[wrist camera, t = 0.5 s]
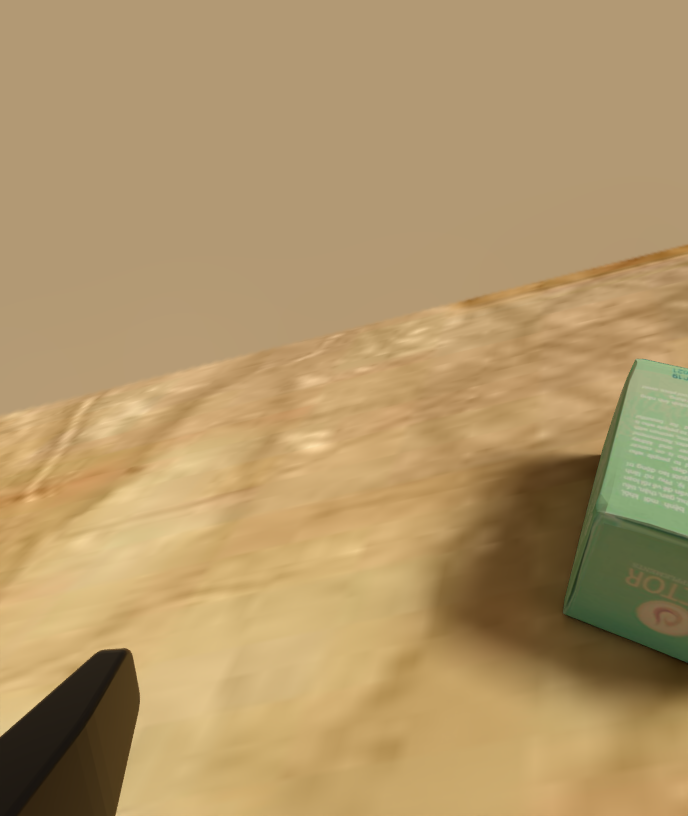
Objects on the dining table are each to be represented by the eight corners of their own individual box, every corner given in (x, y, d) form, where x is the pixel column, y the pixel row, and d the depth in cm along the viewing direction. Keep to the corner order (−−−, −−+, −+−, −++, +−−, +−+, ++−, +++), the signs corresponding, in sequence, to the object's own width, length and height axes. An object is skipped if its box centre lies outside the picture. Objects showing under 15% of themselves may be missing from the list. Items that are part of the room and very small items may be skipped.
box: (556, 621, 24) (595, 509, 20) (599, 454, 34) (631, 354, 30) (743, 699, 21) (836, 586, 17) (733, 491, 31) (791, 385, 26)
